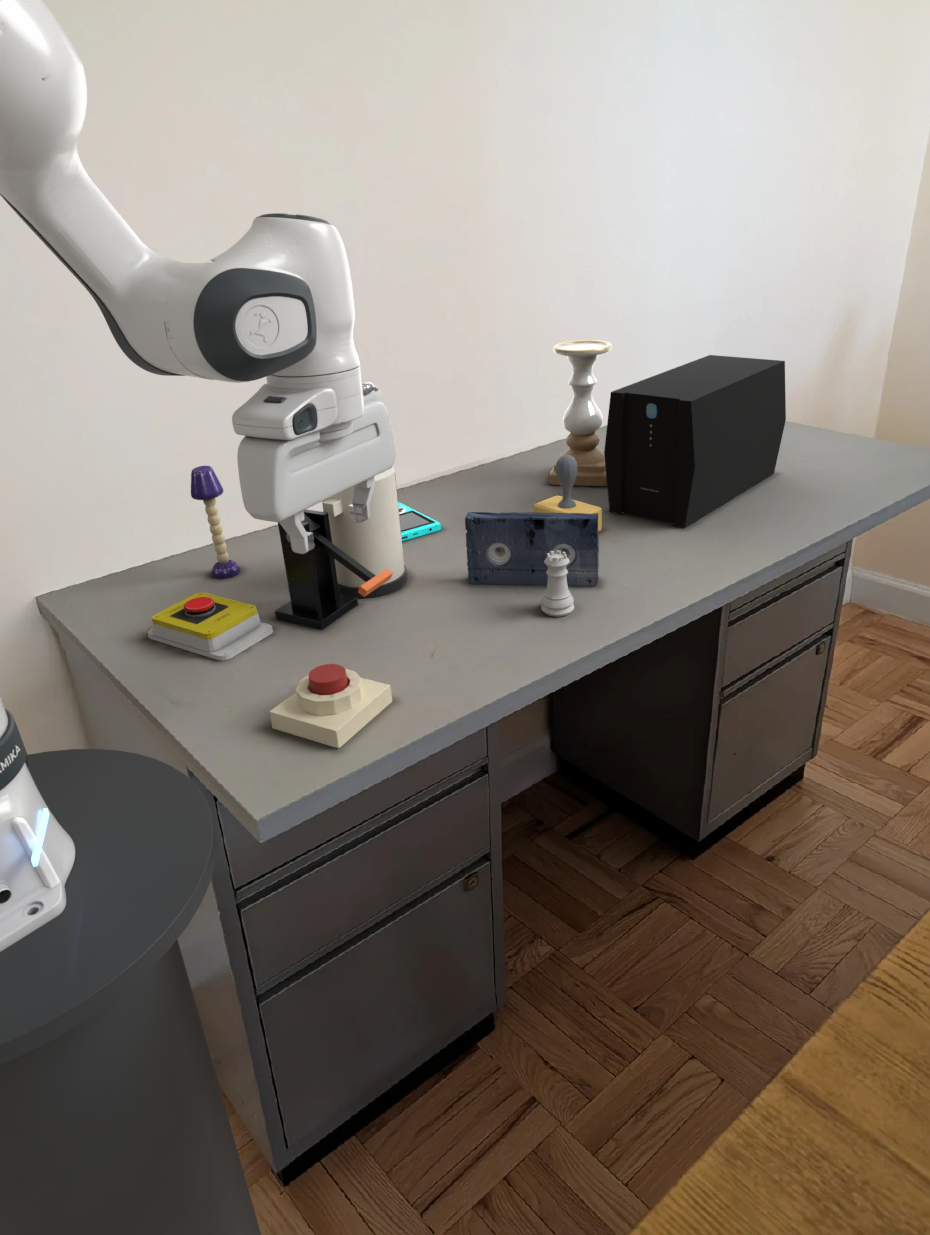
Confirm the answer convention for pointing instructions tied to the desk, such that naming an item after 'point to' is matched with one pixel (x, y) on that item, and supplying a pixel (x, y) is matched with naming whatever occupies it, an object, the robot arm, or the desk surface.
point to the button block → (331, 710)
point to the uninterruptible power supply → (694, 437)
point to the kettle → (369, 537)
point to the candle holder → (583, 413)
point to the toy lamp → (213, 517)
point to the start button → (328, 679)
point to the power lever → (349, 561)
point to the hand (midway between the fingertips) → (333, 535)
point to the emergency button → (209, 626)
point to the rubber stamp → (567, 493)
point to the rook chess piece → (557, 586)
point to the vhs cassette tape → (530, 547)
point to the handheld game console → (415, 523)
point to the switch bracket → (312, 581)
